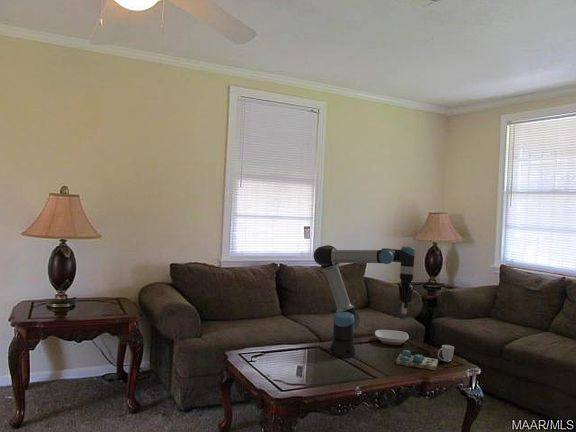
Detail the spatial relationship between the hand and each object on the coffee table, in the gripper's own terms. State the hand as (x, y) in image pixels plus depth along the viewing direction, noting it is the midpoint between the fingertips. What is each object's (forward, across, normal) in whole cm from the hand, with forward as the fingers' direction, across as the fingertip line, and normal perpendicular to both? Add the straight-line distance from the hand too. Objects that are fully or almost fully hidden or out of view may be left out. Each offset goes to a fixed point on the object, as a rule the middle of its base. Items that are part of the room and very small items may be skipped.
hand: (404, 313), depth 276 cm
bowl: (+26, +27, -11) cm, 38 cm away
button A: (+25, -12, +7) cm, 28 cm away
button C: (+23, -17, +2) cm, 29 cm away
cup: (+25, -15, -20) cm, 35 cm away
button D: (+24, -12, -3) cm, 28 cm away
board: (+25, -15, 0) cm, 29 cm away
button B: (+23, -8, +2) cm, 24 cm away
